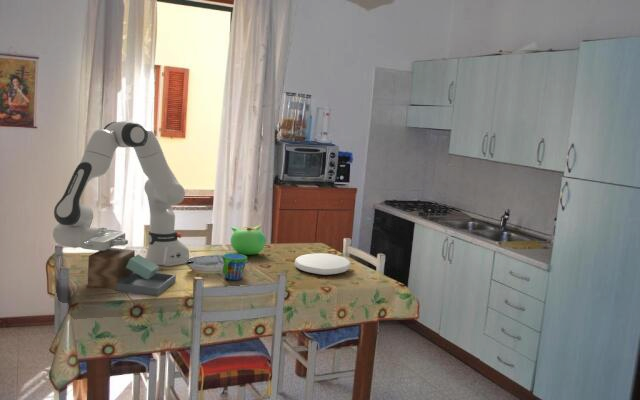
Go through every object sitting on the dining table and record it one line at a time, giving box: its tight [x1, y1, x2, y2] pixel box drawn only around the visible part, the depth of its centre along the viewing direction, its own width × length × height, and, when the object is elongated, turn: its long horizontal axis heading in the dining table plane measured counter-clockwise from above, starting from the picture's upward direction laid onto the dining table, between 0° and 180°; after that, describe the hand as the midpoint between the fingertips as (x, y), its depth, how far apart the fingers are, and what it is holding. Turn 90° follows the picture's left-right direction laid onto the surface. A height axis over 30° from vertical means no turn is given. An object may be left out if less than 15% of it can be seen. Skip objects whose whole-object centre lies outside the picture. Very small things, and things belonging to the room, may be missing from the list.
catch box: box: [115, 272, 177, 297], centre depth 244 cm, size 17×20×3 cm
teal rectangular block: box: [126, 253, 160, 280], centre depth 243 cm, size 4×8×10 cm
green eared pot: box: [230, 225, 267, 256], centre depth 310 cm, size 18×17×15 cm
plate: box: [294, 252, 351, 276], centre depth 295 cm, size 28×6×27 cm
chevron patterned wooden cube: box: [87, 247, 136, 290], centre depth 245 cm, size 12×16×12 cm
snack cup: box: [221, 252, 248, 281], centre depth 266 cm, size 16×10×10 cm
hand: (126, 242), depth 243 cm, fingers closed
